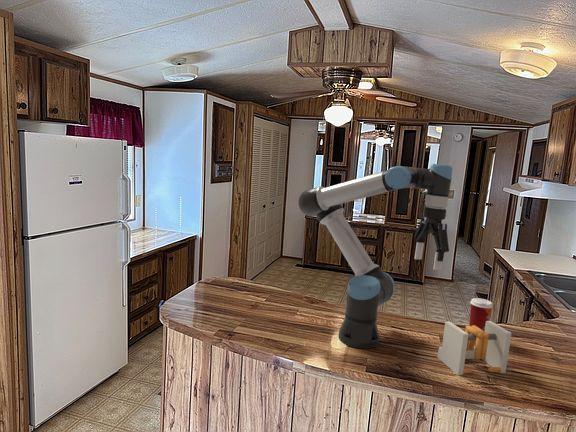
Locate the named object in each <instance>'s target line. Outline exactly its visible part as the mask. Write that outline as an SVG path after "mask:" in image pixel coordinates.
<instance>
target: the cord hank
mask: <svg viewBox="0 0 576 432" xmlns="http://www.w3.org/2000/svg"><path fill="white" fill-rule="evenodd" d="M464 331H465V332H466V333H468V334H473V335H475V336H476V337H477V338H476V340H468V341H467V349H466V351H468V350H471V351H474V346H475V352H474V359H473V360H480V359H481V360H482V359H486V352H487V346H488V337H489V335H488V333H486V332H484V331H483V330H481V329H480V328H478V327H477V326H475V325H472V326H469V324H468V325H467V324H466V326H465V330H464Z"/></svg>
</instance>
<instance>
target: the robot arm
mask: <svg viewBox="0 0 576 432" xmlns="http://www.w3.org/2000/svg"><path fill="white" fill-rule="evenodd" d="M452 176H453V167H452V166H451V165H449V164H439V163H438V164H437V163H436V164H435V163H432V164H431V165H430V167H429V168H420V167H413V166H412V167H411V166H403V165H397V166H396V165H395V166H392V167H390V168H389V169H386V170H383V171H379V172H376V173H372V174H368V175H365V176H362V177H358V178H355V179H351V180H346V181H343V182H340V183H337V184H334V185H331V186H327V187H324V186H318V187H310V188H306V189H304V190H303V191H302V192H301V193H300V195H299V196H298V202H297V203H298V208H299V210H300V212H302V214H304V215H306V216H309V217H316V219H317V221H319V223H320V224H321V225H325V226H326V228H327V230H328V231H329V233H330V235H331V236H332V238H333V239H334V241H335V243H336V245H337V246H338V248H339V250H340V251H341V254H342V255H343V257H344V259H346V261H347V263H348V265H349V266H350V268H351V270H352V272H353V273H354V276H352V277H351V278H350V279H349V281H348V282H347V283H348V284H347V288H346V302H345V303H346V304H345V315H344V319H343V321H342V322H341V325H340V327H339V330H338V339H339V340H340V342H342V344H345V345H347V346H350V347H354V348H357V349H371V348H374V347H377V346H378V345H379V343H380V334H379V329H378V323H377V319H378V310H379V307H380V306H381V305H383V304H385V303H386V302H388V301H389V300H390V299H391V298H392V297H393V295H394V293H395V291H396V290H395V289H396V286H395V281H394V278H392V277H393V276H391V275H390V274H389V273H387V272H384V270H382V268H381V266H380V265H379V264H376V263H374V262H373V261H372V258H371V257H370V256H369V254H368V252H367V251H366V249H365V248H364V246H363V244H362V242H361V241H360V240H359V238H358V236H357V235H356V233H355V231H354V230H353V228H352V227H351V225H350V224H349V222H348V220H347V219H346V217H345V215H344V211H345V208H344V207H343V205H342V204H346V203H350V202H354V201H357V200H361V199H364V198H369V197H374V196H377V195H380V194H385V193H387V192H392V191H396V190H400V189H418V190H419V189H421V190H426V196H425V201H424V202H425V203H424V205H425V207H424V208H423V209H424V211H423V217H420V221H419V224H418V226H417V229H416V231H415V233H414V236H413V239H414V240H415V242H416V246H415V252H414V260H422V259H423V253H424V247H425V239H426V238H427V237H428V236H429V234H431V236H433V239H434V242H435V243H434V244H435V247H436V250H435V254H434V261H433V267H432V269H433V270H434V271H442V268H443V261H444V258H445V257H444V255H445V253H448V252H450V248H449V247H450V246H449V239H448V232H447V231H448V230H447V229H448V224H447V223H442V221H443V220H446V217H447V208H448V202H449V196H450V189H451V184H452V183H451V182H452V179H453V177H452Z"/></svg>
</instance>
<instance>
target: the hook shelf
mask: <svg viewBox="0 0 576 432" xmlns="http://www.w3.org/2000/svg"><path fill="white" fill-rule="evenodd" d="M484 332H486V333H488V335H489V337H488V346H487V352H486V359H481V360H482V361H484V362H485V363H486V364H487V365H489V366H490V367H488V368H487V370H488V372H489V373H499V374H506V371H507V366H508V365H507V364H508V359H509V352H510V346H511V340H512V332H511V331H509V330H507V329H505V328H504V327H501V326H500V325H498V324H497V323H495V322H494V321H491V320H489V321H486V325H485V331H484ZM442 336H443V337H442V342H441V343H442V344H441V346H439V347H438V352H437V353H438V354H437V359H439V360H440V361H441V362H442V363H443V364H444V365H446V366H447V367H448V368H449V369H450V370H451V371H452V372H454V374H456V375H457V376H463V375H466V374H472V373H473V369H472V368H471V367H466V368H465V361H466V360H467V359H468V360H472V359H473V360H475V359H474V352H475V345H474V351H471V350H468V351H466V349H467V341H468V340H475V341H476V338H477V337H476V336H475V335H473V334H468V333H466V332H465V330H463V329H462V328H460V327H459V326H457V325H456V324H454V322H451V321H444V329H443V335H442Z"/></svg>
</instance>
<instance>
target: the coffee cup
mask: <svg viewBox="0 0 576 432" xmlns="http://www.w3.org/2000/svg"><path fill="white" fill-rule="evenodd" d="M469 303H470V309H469V310H470V312H469V323H468V325H469V326H472V325H475V326H477V327H478V328H480V329H481V330H483V331H485V325H486V321H490V317H491V312H492V309H493V308H494V307H493V303H492V301H490V300H488V299H485V298H479V297H475V298H474V297H473V298H472V299H471V300H470V302H469Z"/></svg>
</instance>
